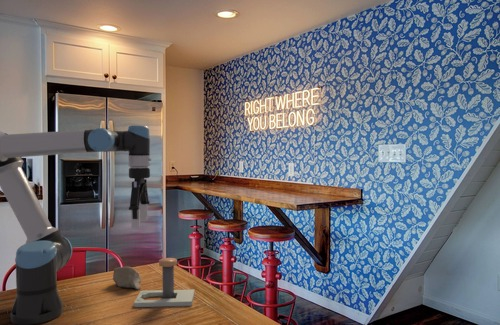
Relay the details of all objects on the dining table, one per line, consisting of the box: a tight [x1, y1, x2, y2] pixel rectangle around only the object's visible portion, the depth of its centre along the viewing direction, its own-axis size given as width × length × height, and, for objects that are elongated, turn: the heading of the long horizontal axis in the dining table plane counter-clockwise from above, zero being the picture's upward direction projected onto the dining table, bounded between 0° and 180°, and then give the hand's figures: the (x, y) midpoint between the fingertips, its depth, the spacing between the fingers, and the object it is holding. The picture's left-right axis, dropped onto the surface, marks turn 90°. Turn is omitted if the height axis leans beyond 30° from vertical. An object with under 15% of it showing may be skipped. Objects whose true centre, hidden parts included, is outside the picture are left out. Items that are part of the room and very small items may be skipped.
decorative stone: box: [112, 266, 142, 291], centre depth 158 cm, size 8×14×8 cm, turn 55°
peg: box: [158, 257, 178, 299], centre depth 143 cm, size 6×6×14 cm
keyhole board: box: [133, 289, 196, 308], centre depth 143 cm, size 20×12×2 cm, turn 93°
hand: (139, 224), depth 146 cm, fingers open, 13 cm apart
